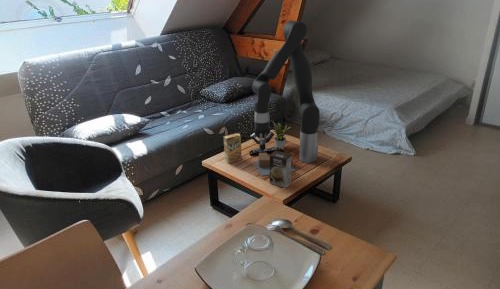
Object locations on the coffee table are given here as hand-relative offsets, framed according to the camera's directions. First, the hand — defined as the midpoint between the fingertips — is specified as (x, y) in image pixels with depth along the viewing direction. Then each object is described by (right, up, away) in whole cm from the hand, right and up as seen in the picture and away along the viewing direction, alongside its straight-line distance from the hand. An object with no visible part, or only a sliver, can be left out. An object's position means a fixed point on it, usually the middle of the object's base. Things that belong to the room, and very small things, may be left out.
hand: (262, 150), depth 189 cm
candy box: (-16, -6, +14) cm, 22 cm away
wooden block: (-2, -6, +8) cm, 10 cm away
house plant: (+10, +1, +27) cm, 29 cm away
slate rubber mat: (+7, -9, +6) cm, 13 cm away
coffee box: (+9, -17, -9) cm, 21 cm away
